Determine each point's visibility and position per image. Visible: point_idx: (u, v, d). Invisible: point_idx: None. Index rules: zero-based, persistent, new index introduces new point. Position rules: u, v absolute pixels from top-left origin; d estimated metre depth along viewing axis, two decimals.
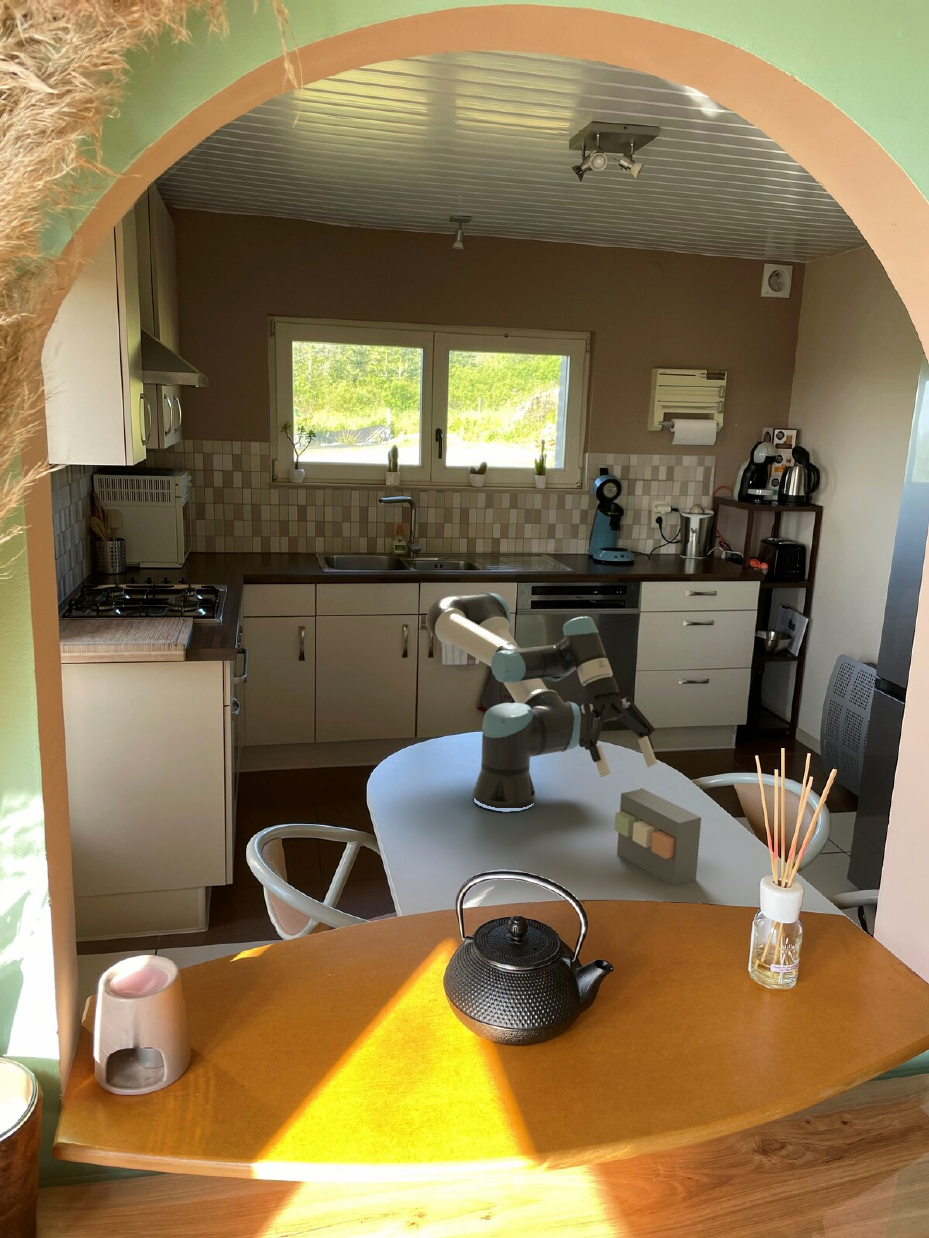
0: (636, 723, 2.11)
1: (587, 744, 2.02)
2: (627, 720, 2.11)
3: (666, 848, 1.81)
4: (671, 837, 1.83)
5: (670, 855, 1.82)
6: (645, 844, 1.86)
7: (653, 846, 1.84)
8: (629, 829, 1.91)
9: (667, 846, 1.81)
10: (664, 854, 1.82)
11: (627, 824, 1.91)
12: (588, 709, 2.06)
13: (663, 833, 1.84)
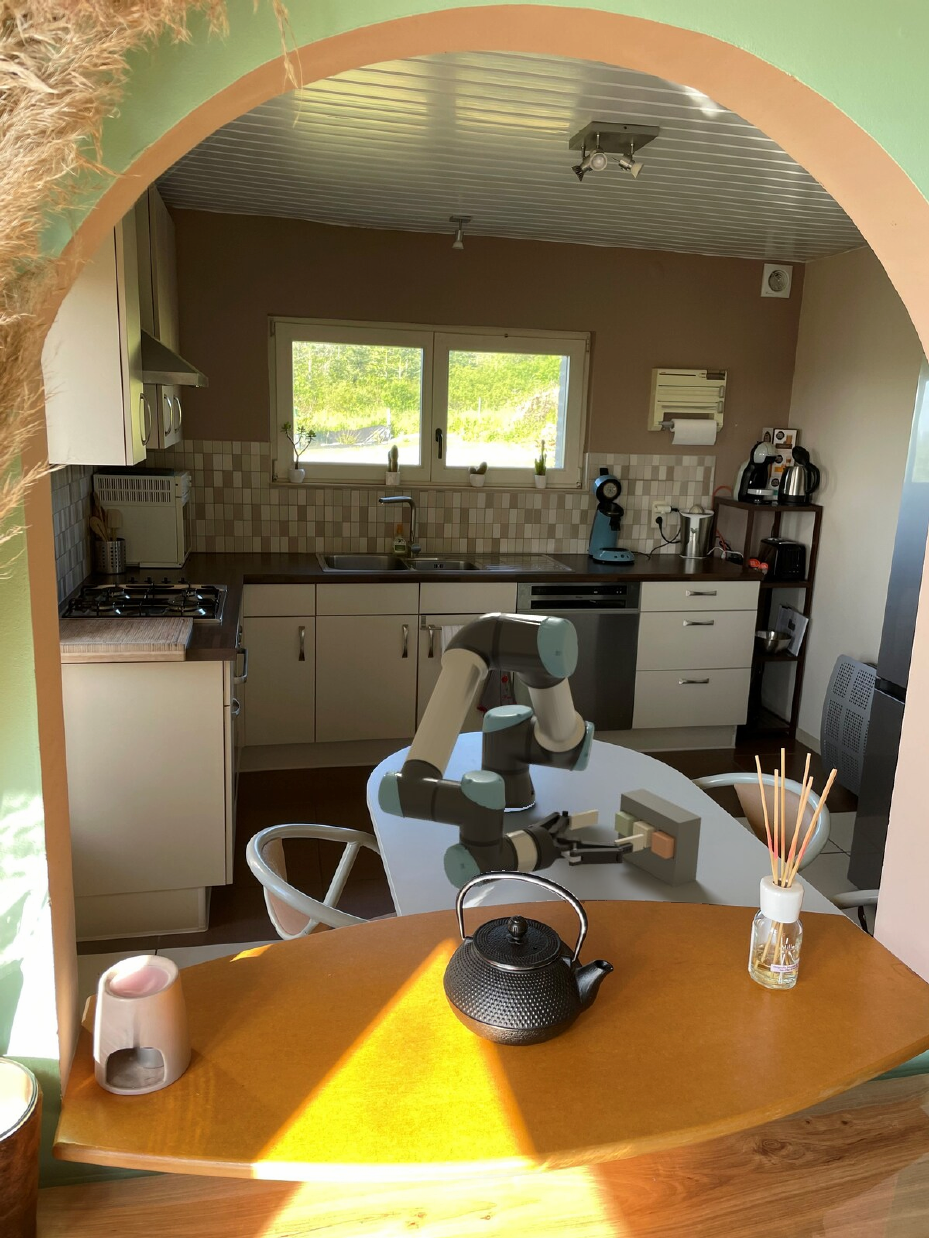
0: None
1: None
2: None
3: (666, 848, 1.81)
4: (671, 837, 1.83)
5: (670, 855, 1.82)
6: (645, 844, 1.86)
7: (653, 846, 1.84)
8: (629, 829, 1.91)
9: (667, 846, 1.81)
10: (664, 854, 1.82)
11: (627, 824, 1.91)
12: None
13: (663, 833, 1.84)
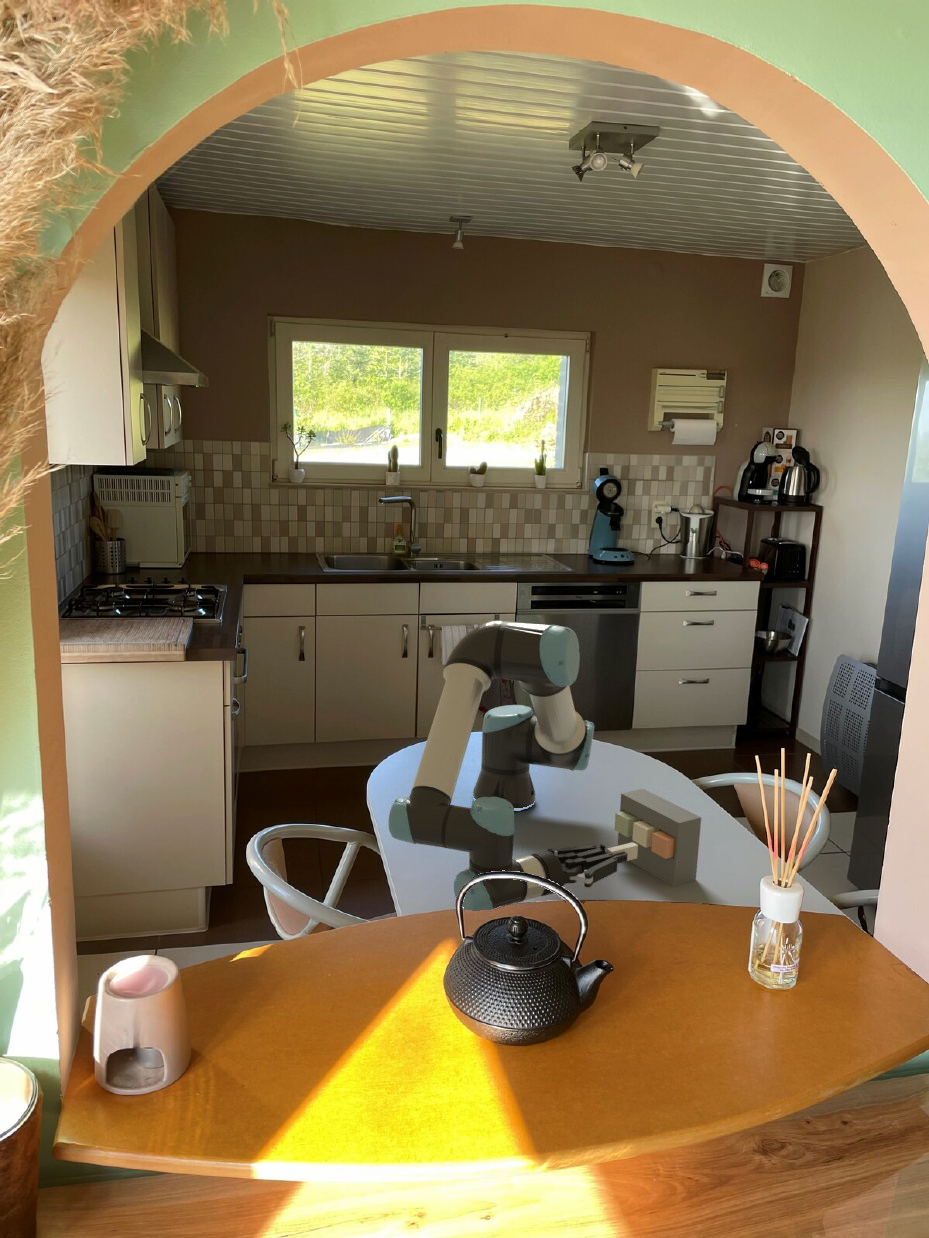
0: None
1: None
2: None
3: (666, 848, 1.81)
4: (671, 837, 1.83)
5: (670, 855, 1.82)
6: (645, 844, 1.86)
7: (653, 846, 1.84)
8: (629, 829, 1.91)
9: (667, 846, 1.81)
10: (664, 854, 1.82)
11: (627, 824, 1.91)
12: None
13: (663, 833, 1.84)
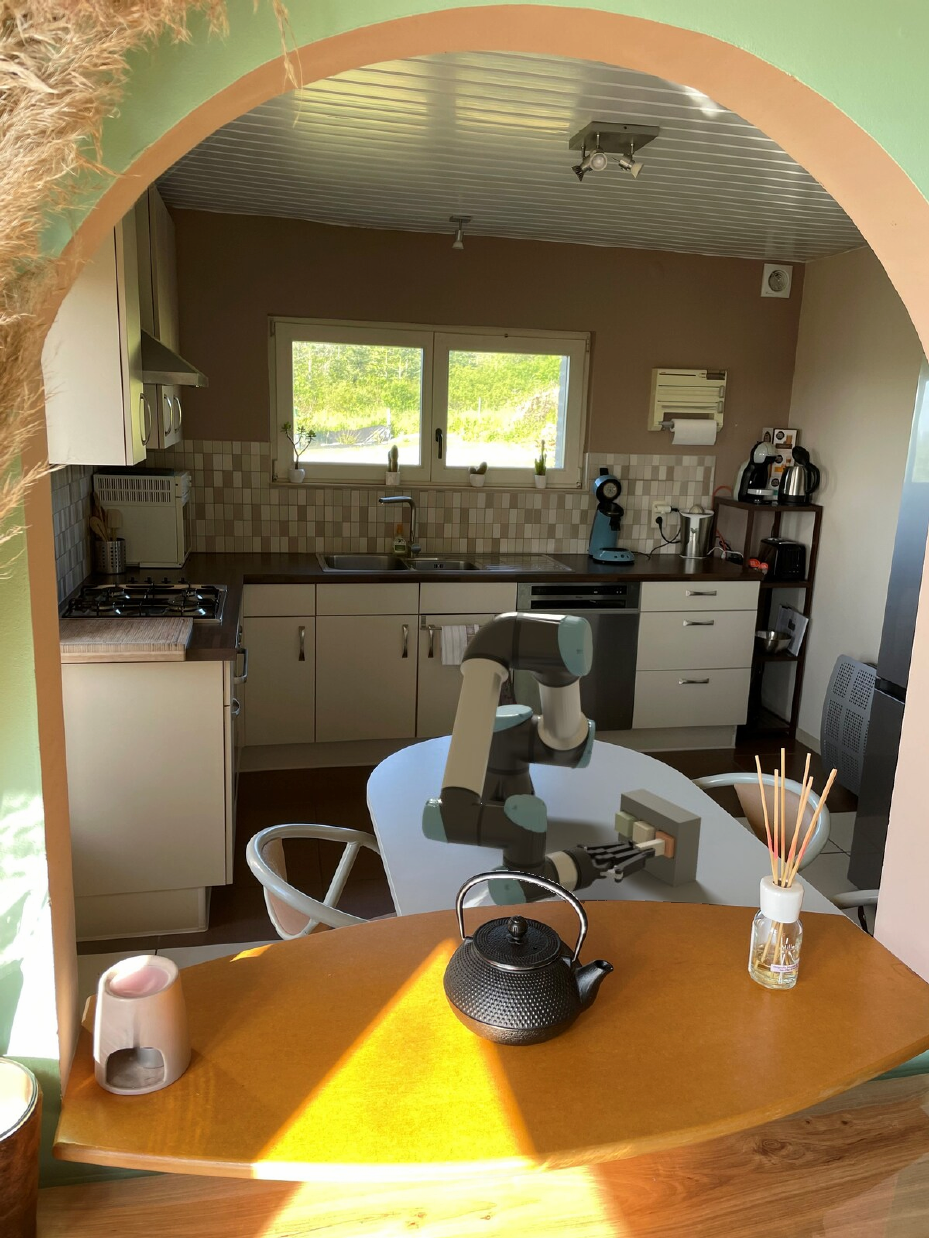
0: None
1: None
2: None
3: (669, 847, 1.82)
4: None
5: (673, 854, 1.83)
6: None
7: None
8: (629, 829, 1.91)
9: (671, 845, 1.82)
10: (667, 853, 1.82)
11: (627, 824, 1.91)
12: None
13: None
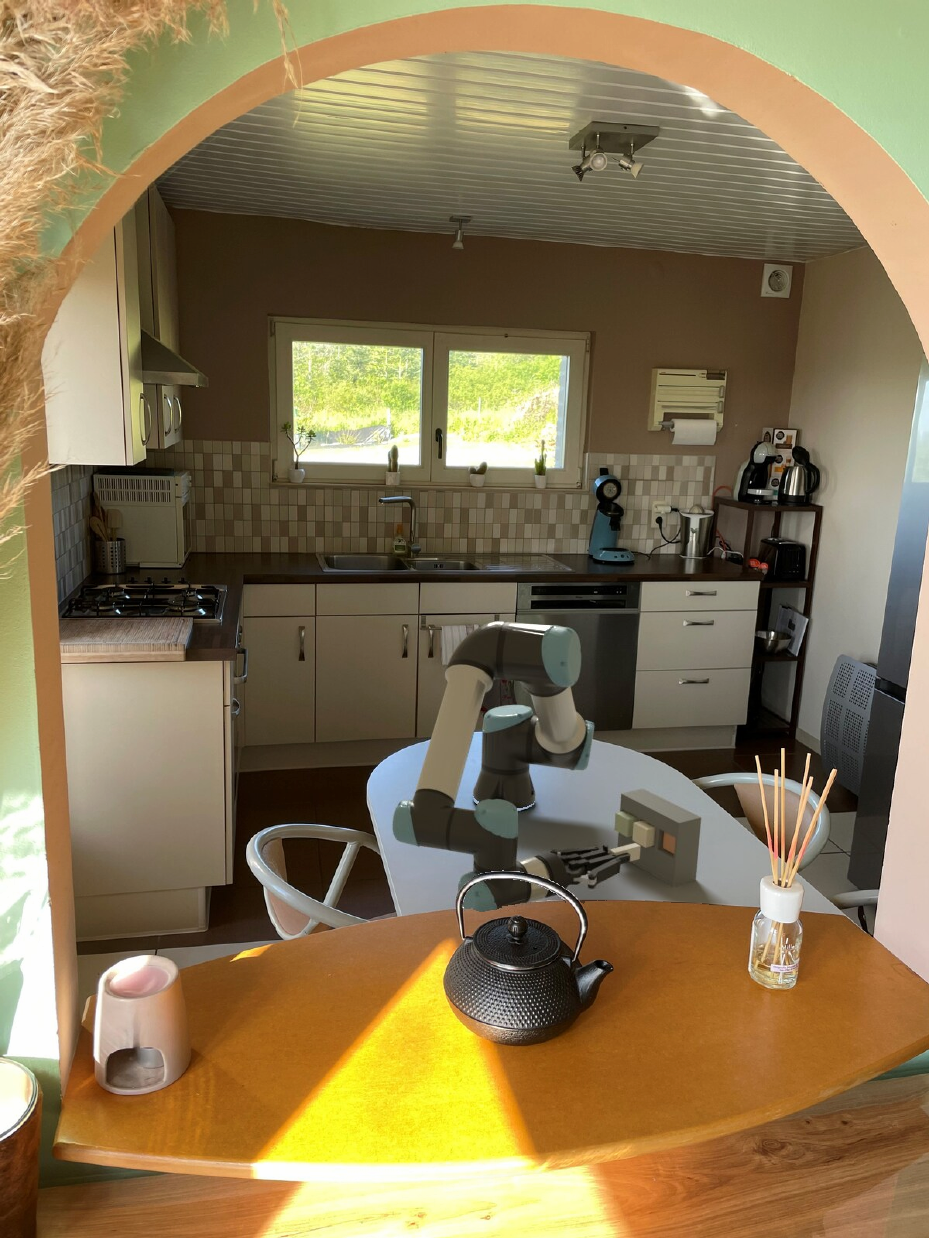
0: None
1: None
2: None
3: None
4: None
5: None
6: (645, 844, 1.86)
7: (664, 843, 1.86)
8: (629, 829, 1.91)
9: None
10: None
11: (627, 824, 1.91)
12: None
13: None
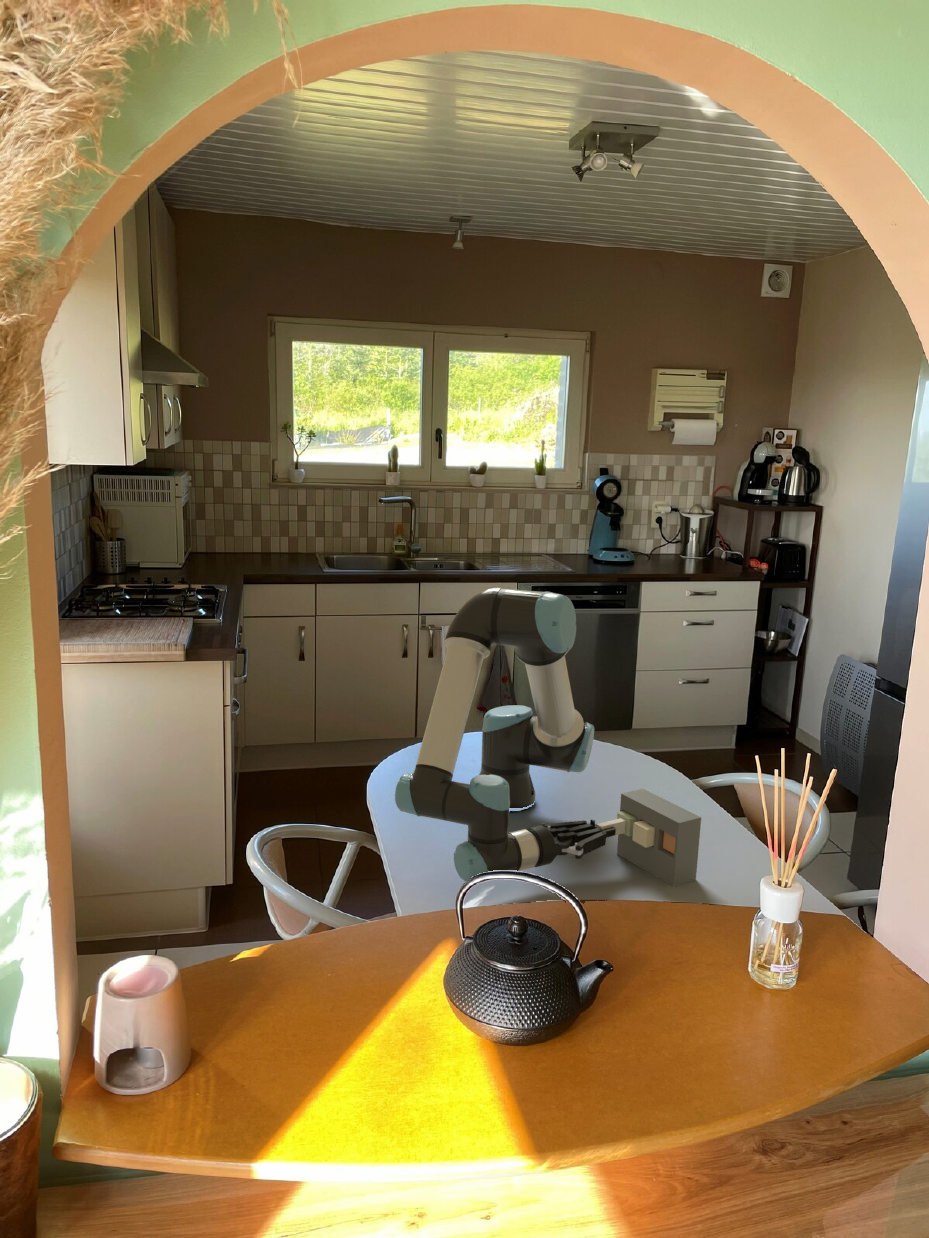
0: None
1: None
2: None
3: None
4: None
5: None
6: (645, 844, 1.86)
7: (664, 843, 1.86)
8: (630, 829, 1.91)
9: None
10: None
11: (629, 824, 1.91)
12: None
13: None
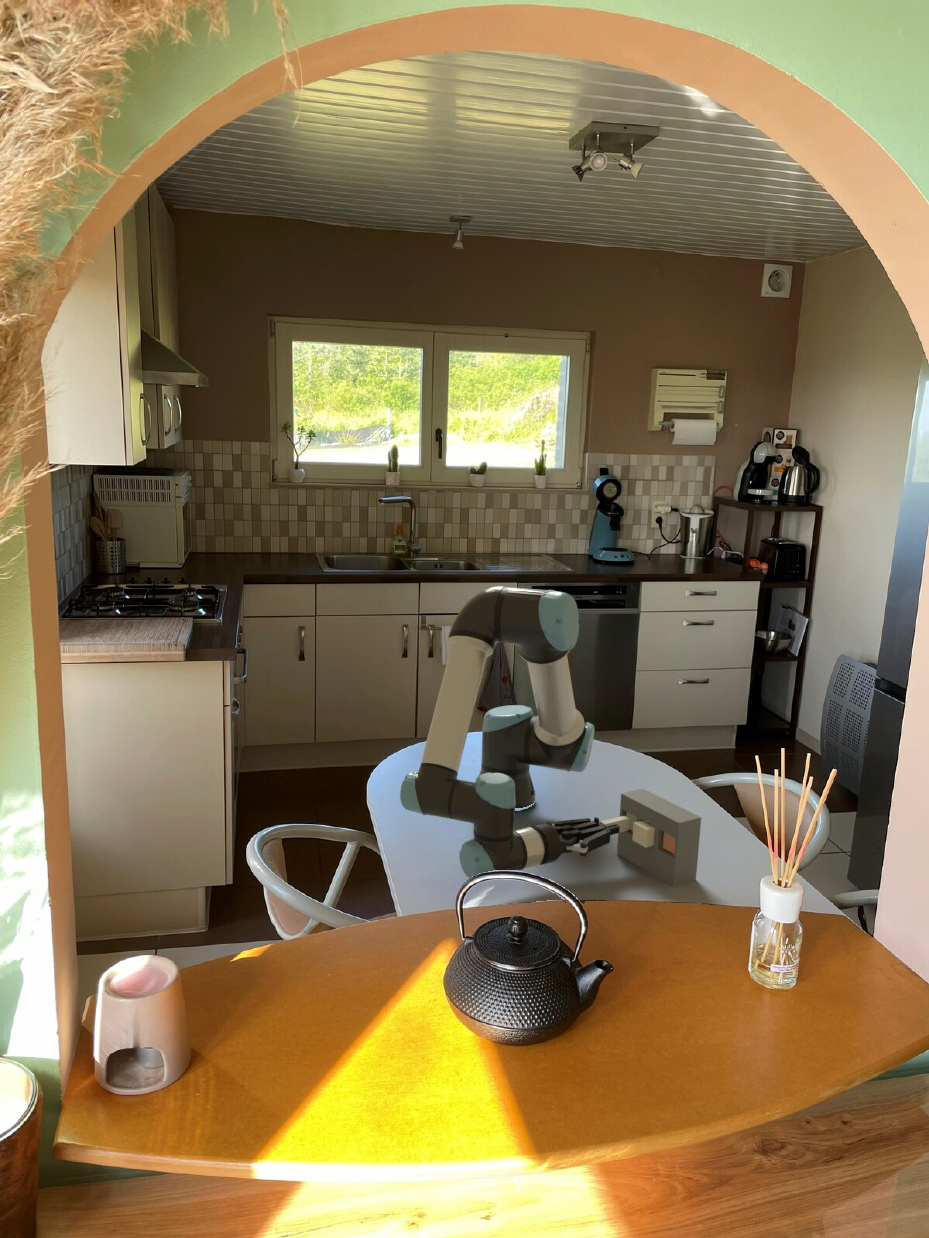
0: None
1: None
2: None
3: None
4: None
5: None
6: (645, 844, 1.86)
7: (664, 843, 1.86)
8: None
9: None
10: None
11: None
12: None
13: None
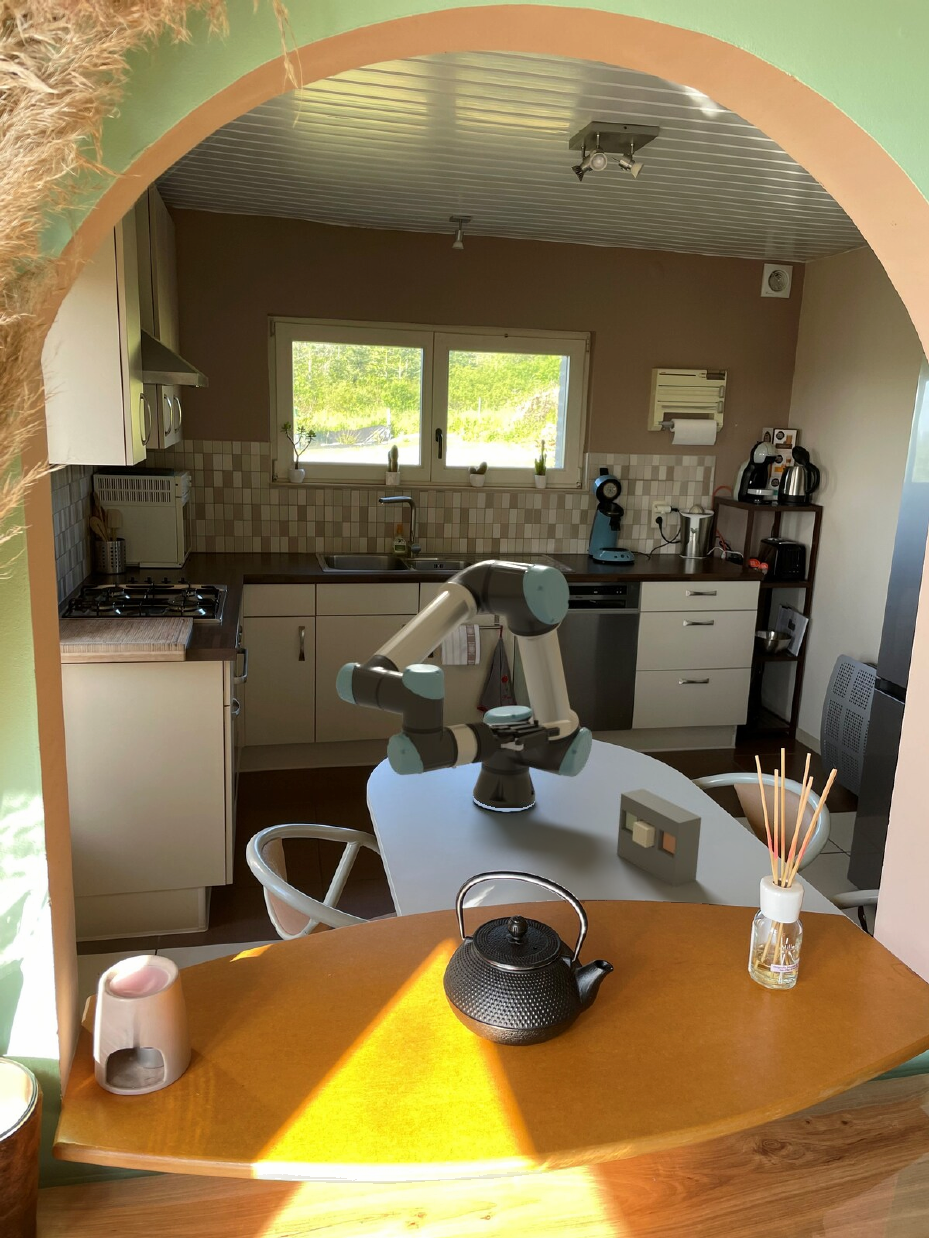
0: None
1: None
2: None
3: None
4: None
5: None
6: (645, 844, 1.86)
7: (664, 843, 1.86)
8: None
9: None
10: None
11: None
12: None
13: None
